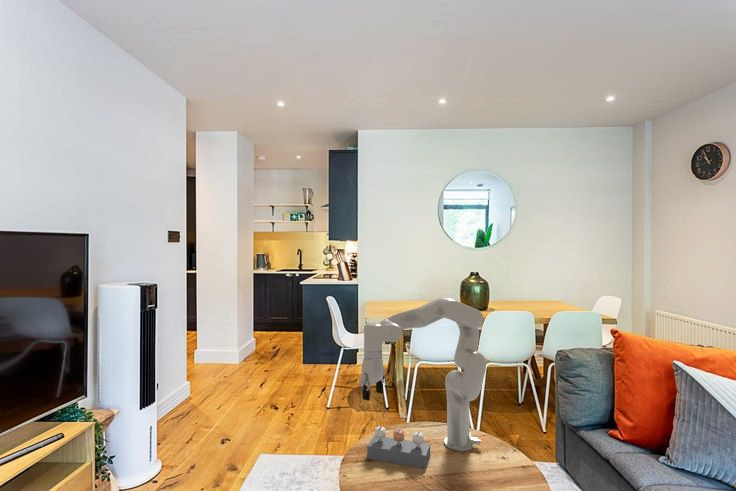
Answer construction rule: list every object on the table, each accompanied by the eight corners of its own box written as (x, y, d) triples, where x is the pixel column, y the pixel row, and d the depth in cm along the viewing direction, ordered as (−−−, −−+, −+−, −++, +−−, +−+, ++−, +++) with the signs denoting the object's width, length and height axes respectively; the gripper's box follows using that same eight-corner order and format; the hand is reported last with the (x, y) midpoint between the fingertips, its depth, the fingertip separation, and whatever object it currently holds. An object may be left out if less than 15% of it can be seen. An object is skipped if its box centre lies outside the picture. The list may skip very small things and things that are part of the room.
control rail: (430, 456, 158) (430, 443, 158) (426, 468, 148) (425, 455, 148) (374, 447, 165) (374, 435, 165) (367, 458, 156) (367, 446, 156)
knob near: (424, 448, 156) (424, 432, 156) (422, 453, 152) (422, 436, 152) (413, 446, 157) (413, 430, 157) (411, 451, 153) (411, 435, 153)
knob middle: (405, 445, 158) (405, 429, 158) (402, 450, 154) (402, 433, 154) (394, 443, 160) (394, 427, 160) (392, 448, 155) (392, 432, 156)
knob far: (386, 442, 161) (386, 426, 161) (383, 447, 157) (383, 431, 157) (376, 440, 162) (376, 425, 162) (373, 445, 158) (373, 429, 158)
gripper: (377, 348, 167) (377, 388, 166) (353, 357, 153) (352, 400, 152) (391, 351, 163) (391, 392, 162) (368, 360, 148) (368, 404, 148)
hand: (373, 396), depth 157 cm, fingers open, 9 cm apart
